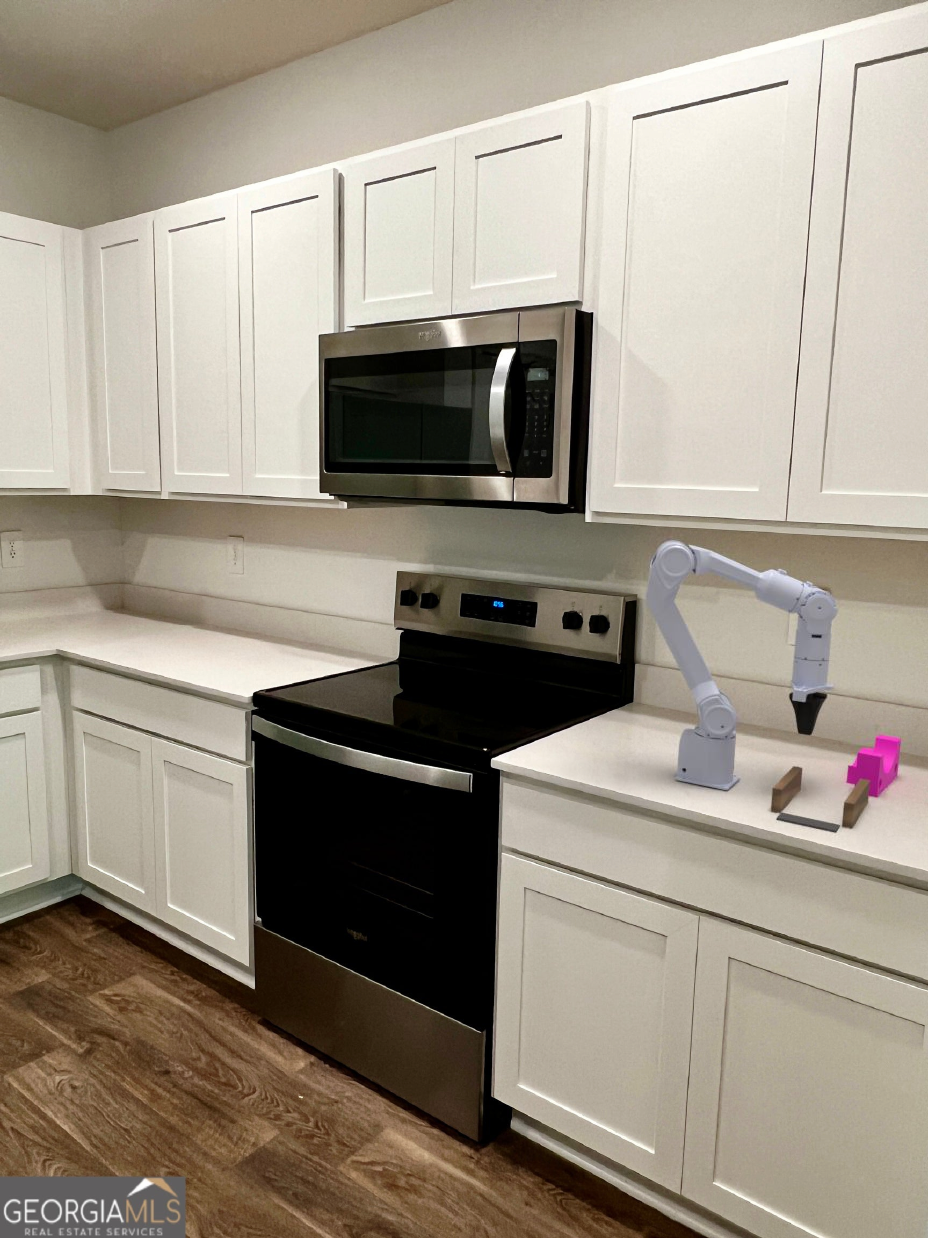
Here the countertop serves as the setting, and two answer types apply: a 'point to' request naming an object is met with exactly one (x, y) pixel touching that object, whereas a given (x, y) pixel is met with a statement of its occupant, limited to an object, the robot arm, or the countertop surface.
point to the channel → (792, 785)
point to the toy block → (876, 764)
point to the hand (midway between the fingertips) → (805, 733)
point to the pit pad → (808, 822)
